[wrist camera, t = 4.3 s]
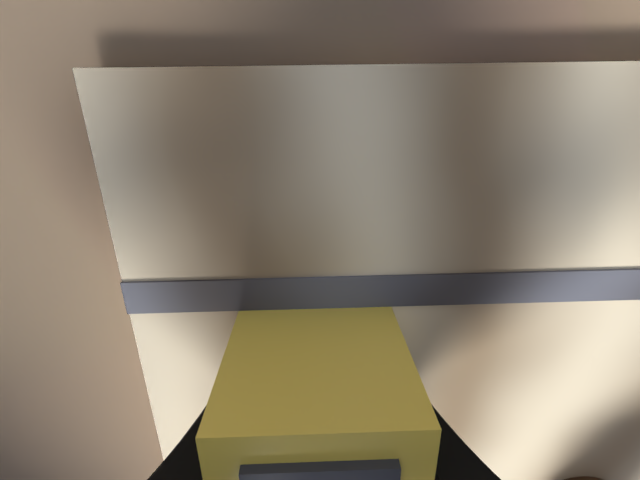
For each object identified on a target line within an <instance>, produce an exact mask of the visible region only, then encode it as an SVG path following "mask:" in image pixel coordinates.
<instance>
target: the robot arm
mask: <svg viewBox="0 0 640 480" xmlns="http://www.w3.org/2000/svg"><path fill="white" fill-rule="evenodd" d="M431 405H432V404H431ZM432 407H433V410H434V412H435V415H436V417H437V419H438V422H439V424H440V427H441V429H442V431H441V438H440V446H439V453H438V460H437V467H436V474H435V480H501V479H500V478H499V477H498V476H497V475H496V474H495V473H494V472H493V471H492V470H491V469H490V468H489V467H488V466H487V465H486V464H485V463H484V462H483V461H482V460H481V459H480V458H479V457H478V456H477V455H476V454H475V453H474V452H473V451H472V450H471V449H470V448H469V447H468V446H467V445H466V444H465V442H464V441H463V440H462V439H461V438H460V437H459V436H458V435H457V434H456V432H455V431H454V430H453V429H452V428H451V427H450V426H449V424H448V423H447V422H446V421H445V420H444V419H443V417H442V416H441V415H440V414H439V413H438V411H437V410H436V409H435V408H434V406H433V405H432ZM205 408H206V407H205ZM205 408H204V409H203V411H202V412H201V414H200V415H199V416H198V418H197V419H196V420H195V422H194V423H193V424H192V426H191V427H190V428H189V430H188V431H187V432H186V434H185V435H184V436H183V438H182V439H181V440H180V442H179V443H178V444H177V445H176V446H175V448H174V449H173V450H172V451H171V453H170V454H169V455H168V456H167V457H166V459H165V460H164V461H163V462H162V463H161V465H160V466H159V467H158V468H157V469H156V471H155V472H154V473H153V474H152V475H151V476H150V477H149V478H148V480H203V478H202V473H201V467H200V462H199V456H198V451H197V445H196V440H195V438H196V435H197V432H198V429H199V426H200V423H201V420H202V417H203V414H204V411H205Z"/></svg>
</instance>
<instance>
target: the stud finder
mask: <svg viewBox="0 0 640 480" xmlns="http://www.w3.org/2000/svg"><path fill="white" fill-rule="evenodd" d="M441 431H442V429H441V427H440V424H439V422H438V419H437V417H436V415H435V412H434V410H433V407H432V405H431V402H430V400H429V397H428V395H427V393H426V390H425V388H424V385H423V383H422V380H421V378H420V376H419V373H418V371H417V368H416V366H415V363H414V361H413V358H412V356H411V354H410V351H409V349H408V346H407V344H406V341H405V339H404V337H403V334H402V332H401V329H400V327H399V324H398V322H397V319H396V317H395V315H394V312H393V310H392V307H361V308H325V309H289V310H252V311H239V312H238V314H237V317H236V320H235V323H234V326H233V329H232V332H231V335H230V338H229V341H228V344H227V347H226V350H225V353H224V356H223V358H222V361H221V364H220V367H219V370H218V373H217V376H216V379H215V382H214V385H213V388H212V391H211V394H210V397H209V400H208V402H207V405H206V408H205V411H204V414H203V417H202V420H201V423H200V426H199V429H198V432H197V435H196V438H195V440H196V445H197V451H198V456H199V462H200V467H201V473H202V478H203V480H435V474H436V467H437V460H438V453H439V446H440V438H441Z"/></svg>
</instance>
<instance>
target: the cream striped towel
mask: <svg viewBox="0 0 640 480" xmlns="http://www.w3.org/2000/svg"><path fill="white" fill-rule="evenodd" d="M72 70H73V74H74V78H75V83H76V87H77V91H78V95H79V100H80V104H81V108H82V113H83V117H84V121H85V125H86V130H87V134H88V138H89V143H90V147H91V151H92V156H93V160H94V164H95V168H96V173H97V177H98V181H99V186H100V190H101V194H102V198H103V203H104V207H105V211H106V216H107V220H108V224H109V229H110V233H111V237H112V241H113V246H114V250H115V254H116V259H117V263H118V267H119V271H120V276H121V280H122V282H121V283H120V285H121V289H122V293H123V298H124V302H125V306H126V310H127V314H130V319H131V323H132V327H133V332H134V336H135V340H136V344H137V349H138V353H139V357H140V362H141V366H142V370H143V375H144V379H145V383H146V387H147V392H148V396H149V400H150V405H151V409H152V413H153V417H154V422H155V426H156V430H157V435H158V439H159V443H160V448H161V452H162V456H163V460H165V459H166V457H167V456H168V455H169V454H170V453H171V451H172V450H173V449H174V448H175V446H176V445H177V444H178V443H179V442H180V440H181V439H182V438H183V436H184V435H185V434H186V432H187V431H188V430H189V428H190V427H191V426H192V424H193V423H194V422H195V420H196V419H197V418H198V416H199V415H200V414H201V412H202V411H203V409H204V408H205V407H206V405H207V402H208V400H209V397H210V394H211V391H212V388H213V385H214V382H215V379H216V376H217V373H218V370H219V367H220V364H221V361H222V358H223V356H224V353H225V350H226V347H227V344H228V341H229V338H230V335H231V332H232V329H233V326H234V323H235V320H236V317H237V314H238V312H239V311H252V310H289V309H325V308H361V307H392V310H393V312H394V315H395V317H396V319H397V322H398V324H399V327H400V329H401V332H402V334H403V337H404V339H405V341H406V344H407V346H408V349H409V351H410V354H411V356H412V358H413V361H414V363H415V366H416V368H417V371H418V373H419V376H420V378H421V380H422V383H423V385H424V388H425V390H426V393H427V395H428V397H429V400H430V402H431V404H432V405H433V406H434V408H435V409H436V410H437V411H438V413H439V414H440V415H441V416H442V417H443V419H444V420H445V421H446V422H447V423H448V424H449V426H450V427H451V428H452V429H453V430H454V431H455V432H456V434H457V435H458V436H459V437H460V438H461V439H462V440H463V441H464V442H465V444H466V445H467V446H468V447H469V448H470V449H471V450H472V451H473V452H474V453H475V454H476V455H477V456H478V457H479V458H480V459H481V460H482V461H483V462H484V463H485V464H486V465H487V466H488V467H489V468H490V469H491V470H492V471H493V472H494V473H495V474H496V475H497V476H498V477H499V478H500V479H501V480H564V479H568V478H573V477H581V476H590V477H597V478H601V479H604V480H640V61H596V62H516V63H435V64H355V65H274V66H194V67H113V68H72Z"/></svg>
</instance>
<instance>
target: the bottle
mask: <svg viewBox="0 0 640 480" xmlns="http://www.w3.org/2000/svg"><path fill="white" fill-rule="evenodd" d="M564 480H604V479H601V478H597V477H590V476H581V477H573V478H568V479H564Z"/></svg>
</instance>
